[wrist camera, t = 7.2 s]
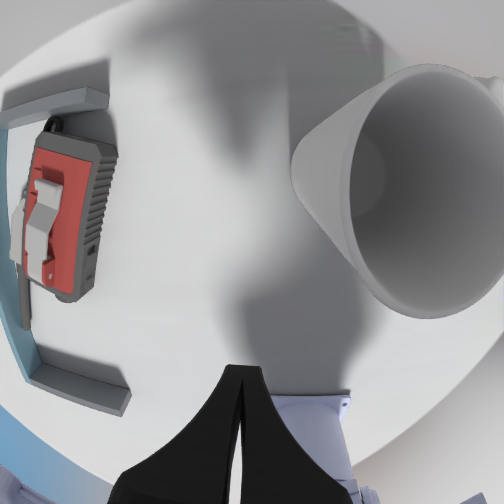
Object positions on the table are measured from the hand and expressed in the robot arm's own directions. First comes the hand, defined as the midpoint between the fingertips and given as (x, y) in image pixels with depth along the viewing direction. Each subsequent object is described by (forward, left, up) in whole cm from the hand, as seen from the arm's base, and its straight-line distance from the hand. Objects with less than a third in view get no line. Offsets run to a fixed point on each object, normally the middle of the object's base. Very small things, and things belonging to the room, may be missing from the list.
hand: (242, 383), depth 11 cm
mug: (+10, -6, -9) cm, 15 cm away
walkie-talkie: (+2, +16, -10) cm, 19 cm away
